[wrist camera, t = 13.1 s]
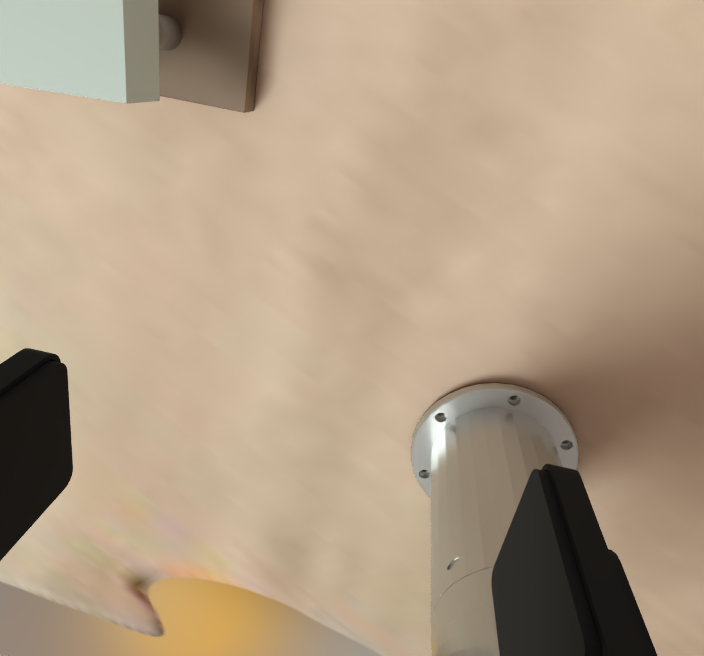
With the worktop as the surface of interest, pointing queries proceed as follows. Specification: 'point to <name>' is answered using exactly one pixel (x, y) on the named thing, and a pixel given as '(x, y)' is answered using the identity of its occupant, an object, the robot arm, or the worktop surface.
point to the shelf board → (82, 47)
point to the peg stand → (210, 51)
